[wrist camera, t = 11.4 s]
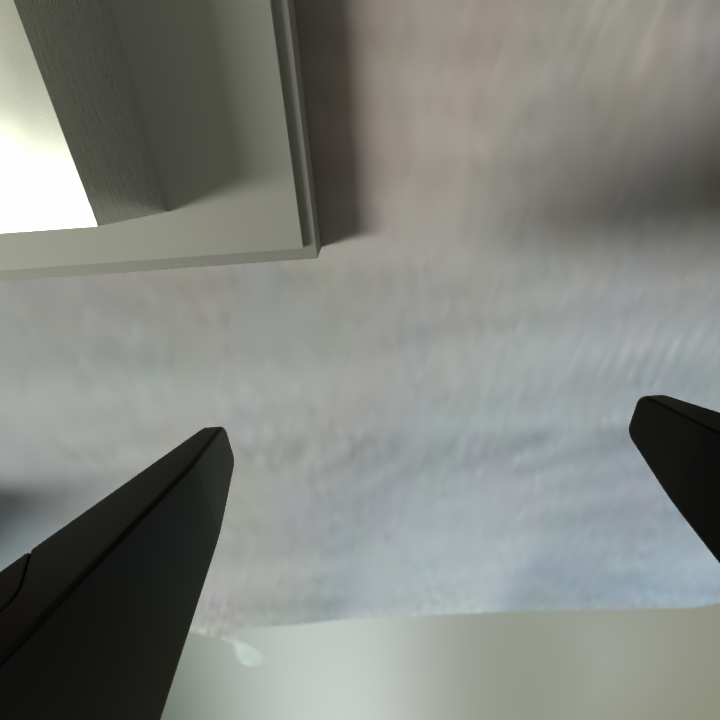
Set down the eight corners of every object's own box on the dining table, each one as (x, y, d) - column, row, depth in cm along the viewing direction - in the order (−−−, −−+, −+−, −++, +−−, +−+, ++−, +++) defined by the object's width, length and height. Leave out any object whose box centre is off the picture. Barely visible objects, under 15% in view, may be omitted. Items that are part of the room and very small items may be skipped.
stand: (270, -213, 11) (246, -333, 9) (321, 247, 18) (316, 259, 15) (-236, -174, 11) (-415, -281, 9) (-4, 270, 18) (-66, 287, 15)
